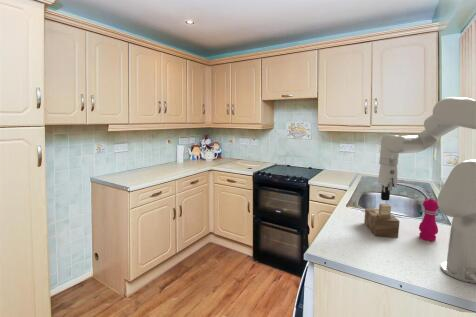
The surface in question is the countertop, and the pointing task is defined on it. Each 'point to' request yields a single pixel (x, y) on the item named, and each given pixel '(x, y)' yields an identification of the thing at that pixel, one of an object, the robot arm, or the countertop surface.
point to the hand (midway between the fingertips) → (384, 199)
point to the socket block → (381, 224)
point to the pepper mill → (429, 220)
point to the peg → (384, 211)
